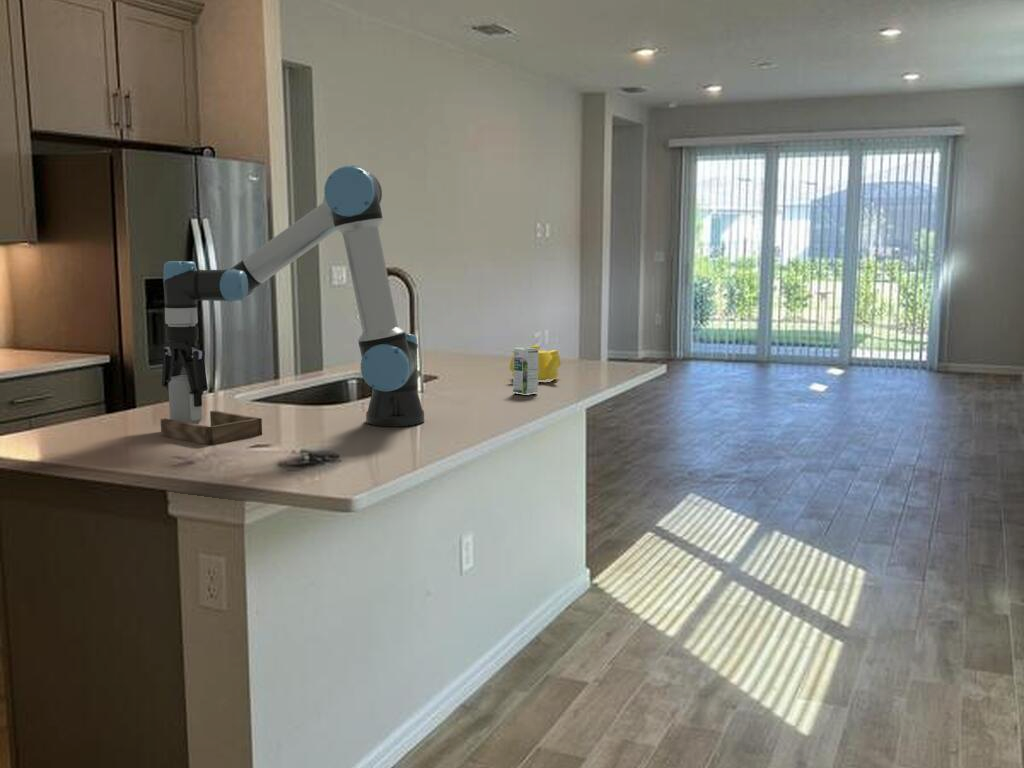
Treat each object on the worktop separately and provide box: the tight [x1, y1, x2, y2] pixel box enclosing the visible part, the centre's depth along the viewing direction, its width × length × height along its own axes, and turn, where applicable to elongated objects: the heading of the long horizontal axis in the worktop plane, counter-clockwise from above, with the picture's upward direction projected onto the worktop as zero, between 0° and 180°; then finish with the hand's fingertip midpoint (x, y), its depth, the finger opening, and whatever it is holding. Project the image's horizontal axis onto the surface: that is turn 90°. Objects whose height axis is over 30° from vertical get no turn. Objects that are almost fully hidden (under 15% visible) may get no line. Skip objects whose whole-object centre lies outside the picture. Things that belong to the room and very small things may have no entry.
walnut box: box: [160, 410, 263, 446], centre depth 233 cm, size 18×15×4 cm
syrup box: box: [512, 346, 539, 394], centre depth 298 cm, size 6×6×14 cm
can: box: [168, 374, 203, 425], centre depth 238 cm, size 8×8×12 cm
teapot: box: [508, 345, 562, 380], centre depth 329 cm, size 17×17×12 cm
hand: (185, 417), depth 239 cm, fingers closed on can, 7 cm apart
